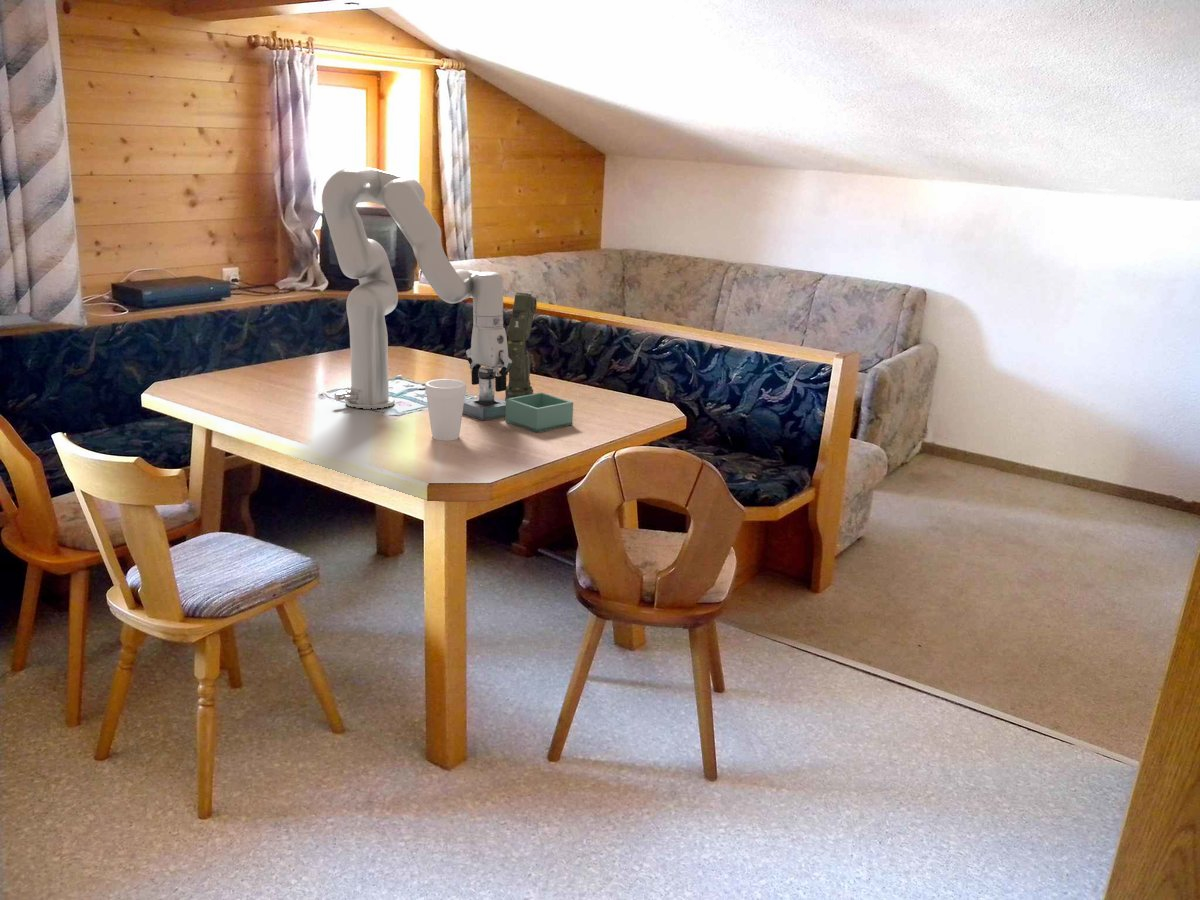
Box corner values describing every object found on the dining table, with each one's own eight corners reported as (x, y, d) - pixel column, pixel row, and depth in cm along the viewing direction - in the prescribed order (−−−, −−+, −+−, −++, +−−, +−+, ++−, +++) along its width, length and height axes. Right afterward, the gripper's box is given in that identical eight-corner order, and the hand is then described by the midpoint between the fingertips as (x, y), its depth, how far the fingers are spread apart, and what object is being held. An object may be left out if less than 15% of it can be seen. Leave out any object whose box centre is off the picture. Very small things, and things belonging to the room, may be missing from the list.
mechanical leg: (522, 404, 268) (532, 291, 267) (496, 401, 270) (506, 289, 268) (535, 404, 282) (544, 297, 280) (510, 401, 283) (519, 295, 281)
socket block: (483, 420, 254) (483, 409, 253) (459, 412, 261) (459, 401, 260) (513, 414, 261) (513, 403, 260) (489, 406, 268) (489, 395, 267)
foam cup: (471, 433, 243) (471, 381, 239) (457, 444, 234) (457, 390, 230) (434, 429, 245) (434, 377, 241) (419, 439, 236) (419, 386, 232)
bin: (536, 432, 246) (537, 409, 244) (505, 421, 254) (505, 398, 252) (572, 425, 254) (573, 402, 253) (541, 414, 262) (541, 392, 261)
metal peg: (484, 416, 258) (485, 371, 254) (473, 413, 261) (474, 367, 257) (498, 414, 261) (499, 369, 257) (487, 410, 264) (488, 365, 261)
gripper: (521, 324, 251) (521, 391, 255) (478, 315, 262) (479, 379, 267) (498, 327, 245) (498, 395, 250) (455, 318, 257) (456, 383, 262)
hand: (488, 387), depth 259 cm, fingers open, 9 cm apart
